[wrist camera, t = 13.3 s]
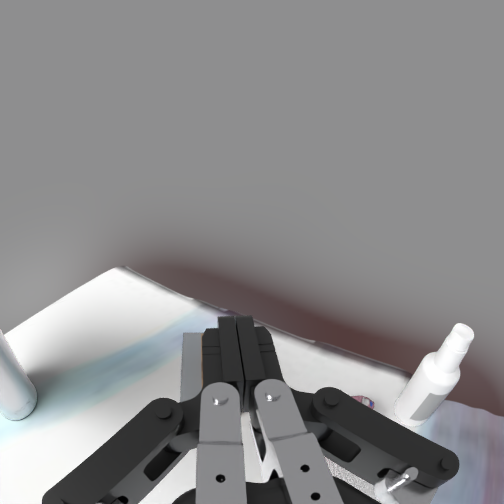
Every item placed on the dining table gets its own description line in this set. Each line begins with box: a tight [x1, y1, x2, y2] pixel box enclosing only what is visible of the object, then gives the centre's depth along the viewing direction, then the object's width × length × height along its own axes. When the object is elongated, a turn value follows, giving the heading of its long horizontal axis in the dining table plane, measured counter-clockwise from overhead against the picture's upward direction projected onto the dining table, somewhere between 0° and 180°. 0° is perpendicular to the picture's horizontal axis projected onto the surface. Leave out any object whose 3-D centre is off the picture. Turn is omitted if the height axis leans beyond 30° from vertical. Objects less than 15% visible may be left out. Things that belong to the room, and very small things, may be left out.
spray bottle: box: [394, 323, 474, 427], centre depth 33 cm, size 7×7×18 cm
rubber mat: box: [180, 333, 243, 409], centre depth 46 cm, size 17×12×1 cm
